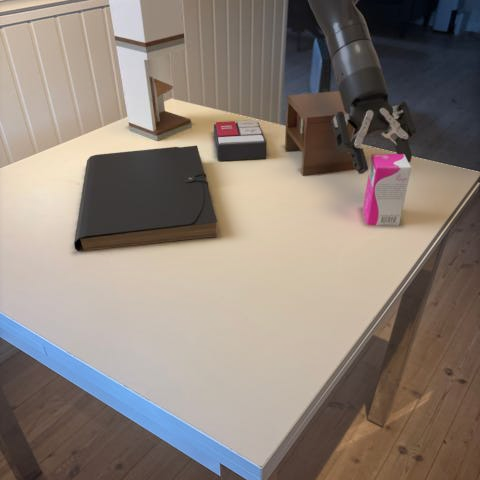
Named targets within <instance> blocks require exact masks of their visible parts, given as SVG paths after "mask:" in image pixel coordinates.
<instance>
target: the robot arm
mask: <svg viewBox="0 0 480 480" xmlns="http://www.w3.org/2000/svg"><path fill="white" fill-rule="evenodd" d="M307 2H308V4H309V7H310V10H311V11H312V13H313V15H314V17H315V20H316V22H317V24H318V26H319V28H320V29H321V31H322V32H323V33H322V34H323V35H324V37H325V40H326V45H327V49H328V52H329V55H330V59H331V63H332V68H333V74H334V79H335V82H336V85H337V88H338V91H339V92H340V96H341V99H342V103H343V106H344V110H345V111H346V112H347V114H344V113H343V112H341V111H340V112H338V113H337V114H336V116H335V117H334V118H333V119H332V120H331V123H332V127H333V131H334V136H335V140H336V144H337V149H338V151H339V152H343V151H345V152H348V153H349V154H350V155H351V158H352V161H353V165H354V168H355V170H354V171H356V172H357V173H358V175H363V174H365V173H366V172H367V171H369V165H368V161H367V159H366V155H365V152H364V148H363V147H362V144H363V142H364V139H367V138H370V137H372V136H373V137H377V136H382V137H384V138H385V139H389V140H390V141H391V142H392V143H393V144H394V145H395V146H394V148H395V151H396V154H405V157H406V159H407V161H408V162H409V163H411V161H412V158H413V154H412V151H411V148H410V144H409V139H410V138H412V137H413V136H414V135H415V134H417V129H416V126H415V124H414V120H413V118H412V114H411V111H410V109H409V105H408V103H407V102H406V101H401V102H400V103H399V104H396V105H391V104H390V101H389V90H388V87H387V83H386V80H385V76H384V73H383V70H382V66H381V63H380V60H379V59H380V58H379V57H378V53H377V51H376V49H375V47H374V44H373V41H372V38H371V34H370V31H369V28H368V25H367V22H366V19H365V17H364V15H363V14H362V12H361V11H360V10H359V9H358V7H356V5H357V3H358V2H359V0H307ZM348 123H349V124H350V125H351V126H352V127H353V128H354V131H353V134H352V137H351V139H350V138H349V133H348V129H347V124H348ZM389 126H390V128H389Z"/></svg>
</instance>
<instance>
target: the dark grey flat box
mask: <svg viewBox="0 0 480 480" xmlns="http://www.w3.org/2000/svg"><path fill="white" fill-rule="evenodd" d="M213 137H214V144H215V149H216V158H217V161H219V162H221V161H223V162H224V161H239V160H259V159H260V160H261V159H266V158H267V150H268V149H267V146H268V145H267V140H266V137H265V135H264V132H263V130H262V127H261V125H260V122H258V120H256V119H255V120H254V119H253V120H252V119H250V120H237V121H235V120H233V121H231V120H230V121H216V122H215V123H214V124H213Z"/></svg>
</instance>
